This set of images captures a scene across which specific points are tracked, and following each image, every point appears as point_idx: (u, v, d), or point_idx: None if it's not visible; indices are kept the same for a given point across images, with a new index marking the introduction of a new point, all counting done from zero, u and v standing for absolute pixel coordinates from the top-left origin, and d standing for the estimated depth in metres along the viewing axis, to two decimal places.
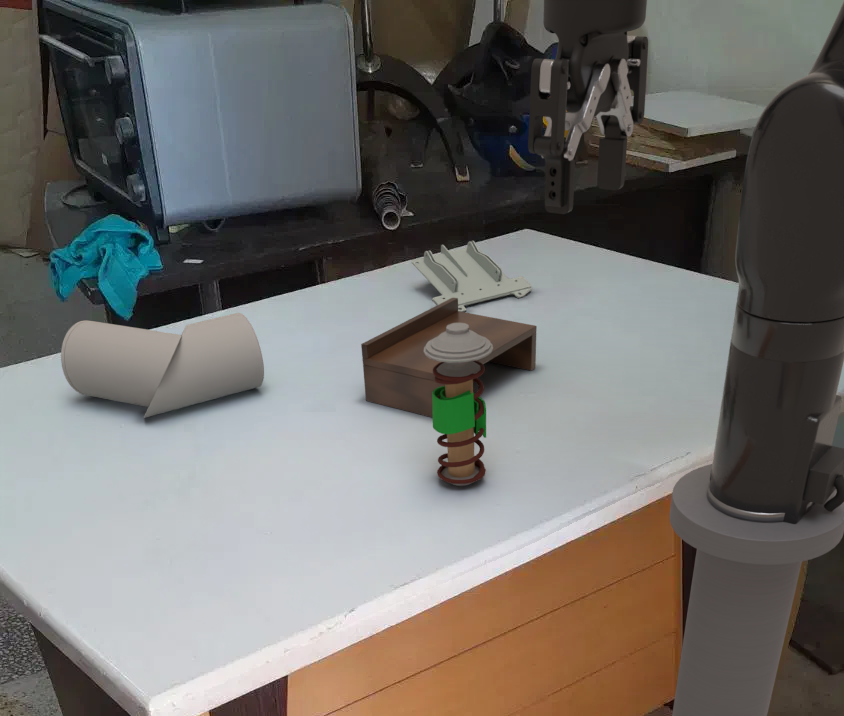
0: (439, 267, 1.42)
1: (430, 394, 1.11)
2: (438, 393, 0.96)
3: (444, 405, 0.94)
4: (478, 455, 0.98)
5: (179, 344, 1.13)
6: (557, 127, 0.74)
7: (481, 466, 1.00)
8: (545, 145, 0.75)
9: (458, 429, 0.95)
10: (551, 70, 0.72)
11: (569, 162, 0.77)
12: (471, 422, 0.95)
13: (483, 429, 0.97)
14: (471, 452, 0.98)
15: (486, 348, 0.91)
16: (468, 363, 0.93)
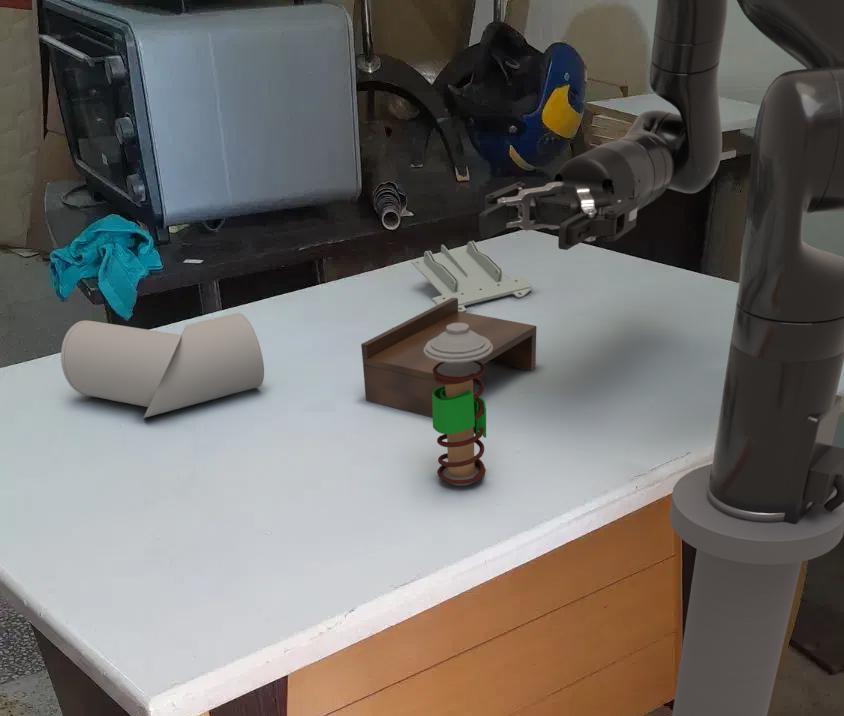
0: (439, 267, 1.42)
1: (430, 394, 1.11)
2: (438, 393, 0.96)
3: (444, 405, 0.94)
4: (478, 455, 0.98)
5: (179, 344, 1.13)
6: (494, 192, 1.00)
7: (481, 466, 1.00)
8: None
9: (458, 429, 0.95)
10: None
11: (500, 204, 0.98)
12: (471, 422, 0.95)
13: (483, 429, 0.97)
14: (471, 452, 0.98)
15: (486, 348, 0.91)
16: (468, 363, 0.93)
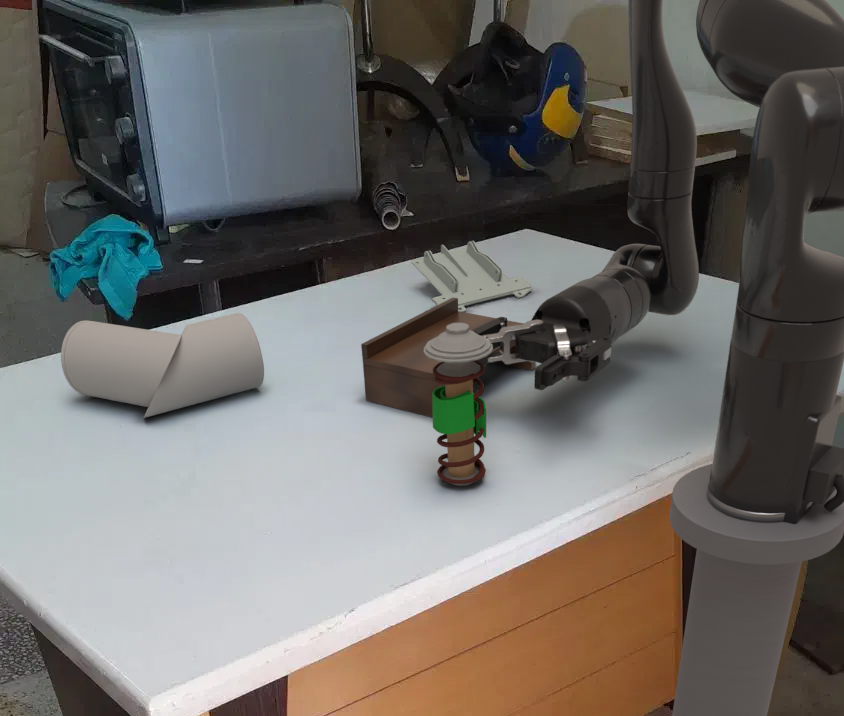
0: (439, 267, 1.42)
1: (430, 394, 1.11)
2: (438, 393, 0.96)
3: (444, 405, 0.94)
4: (478, 455, 0.98)
5: (179, 344, 1.13)
6: (478, 328, 1.06)
7: (481, 466, 1.00)
8: None
9: (458, 429, 0.95)
10: None
11: None
12: (471, 422, 0.95)
13: (483, 429, 0.97)
14: (471, 452, 0.98)
15: (486, 348, 0.91)
16: (468, 363, 0.93)
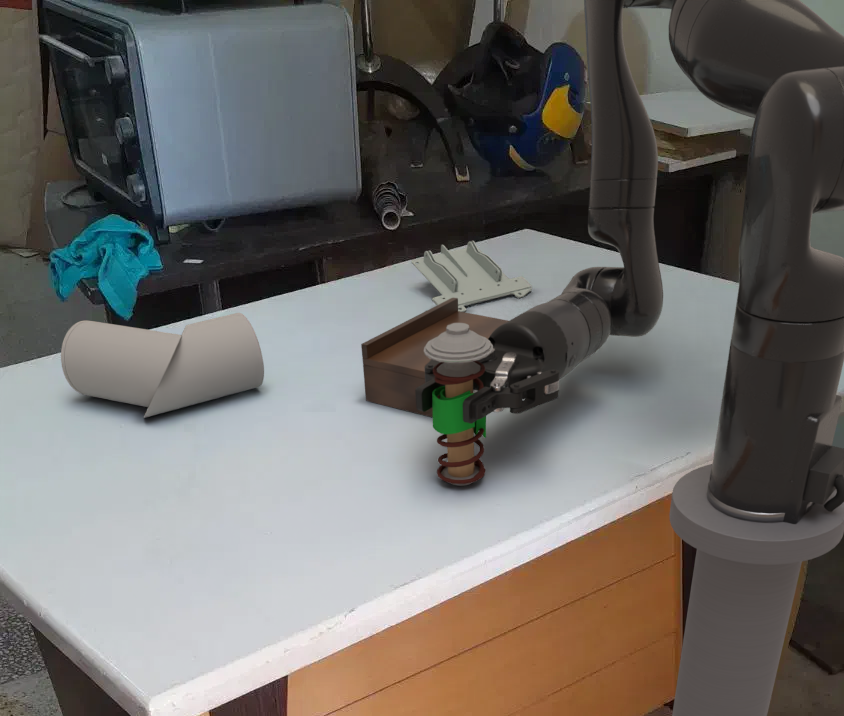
0: (439, 267, 1.42)
1: None
2: (438, 393, 0.96)
3: (444, 405, 0.94)
4: (478, 455, 0.98)
5: (179, 344, 1.13)
6: (430, 361, 0.99)
7: (481, 466, 1.00)
8: None
9: (458, 429, 0.95)
10: None
11: None
12: None
13: (483, 429, 0.97)
14: (471, 452, 0.98)
15: (486, 348, 0.91)
16: (468, 363, 0.93)
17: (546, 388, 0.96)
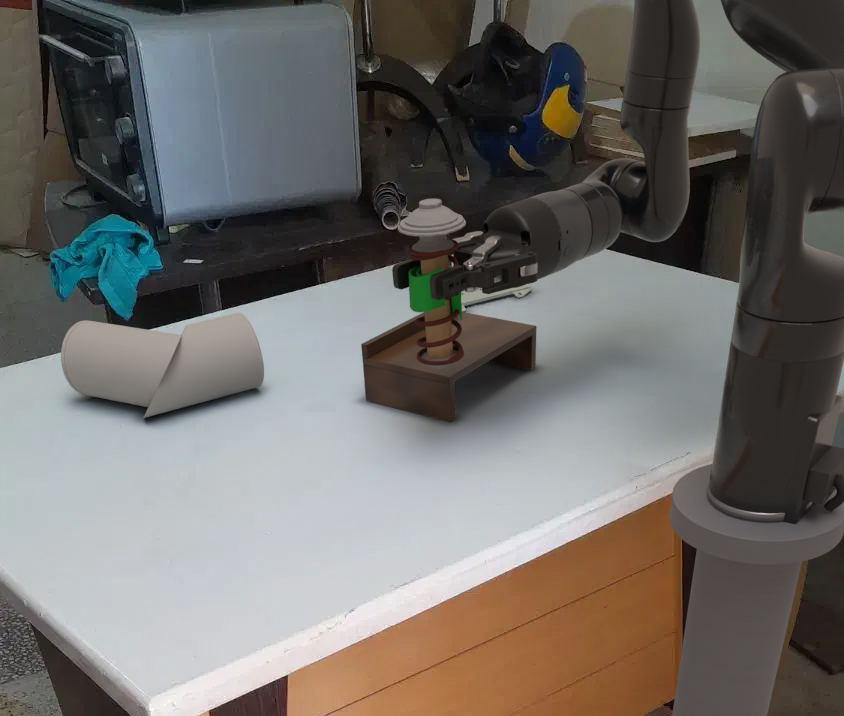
0: None
1: (430, 394, 1.11)
2: None
3: (416, 282, 0.96)
4: (452, 336, 0.99)
5: (179, 344, 1.13)
6: None
7: (459, 350, 1.01)
8: None
9: (430, 307, 0.97)
10: None
11: None
12: (442, 300, 0.96)
13: (458, 310, 0.99)
14: (447, 334, 1.00)
15: (455, 224, 0.92)
16: (440, 239, 0.94)
17: (521, 270, 0.96)
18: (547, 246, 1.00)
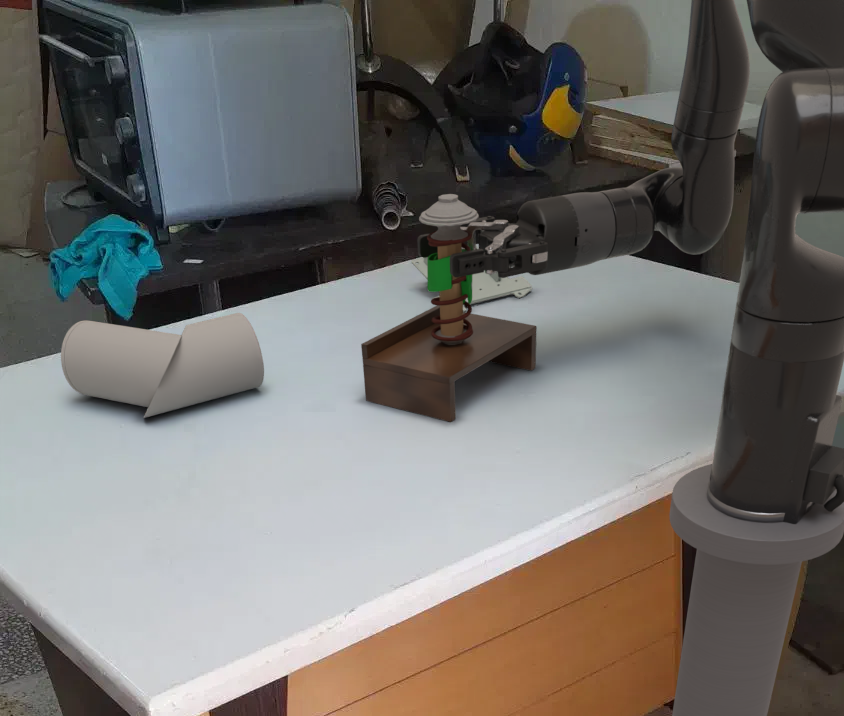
0: None
1: (430, 394, 1.11)
2: None
3: (429, 265, 1.10)
4: (458, 317, 1.13)
5: (179, 344, 1.13)
6: None
7: (467, 330, 1.15)
8: None
9: (439, 288, 1.11)
10: None
11: None
12: (448, 284, 1.10)
13: (466, 295, 1.12)
14: (456, 314, 1.13)
15: (463, 218, 1.06)
16: (452, 230, 1.08)
17: (533, 257, 1.07)
18: (562, 240, 1.11)
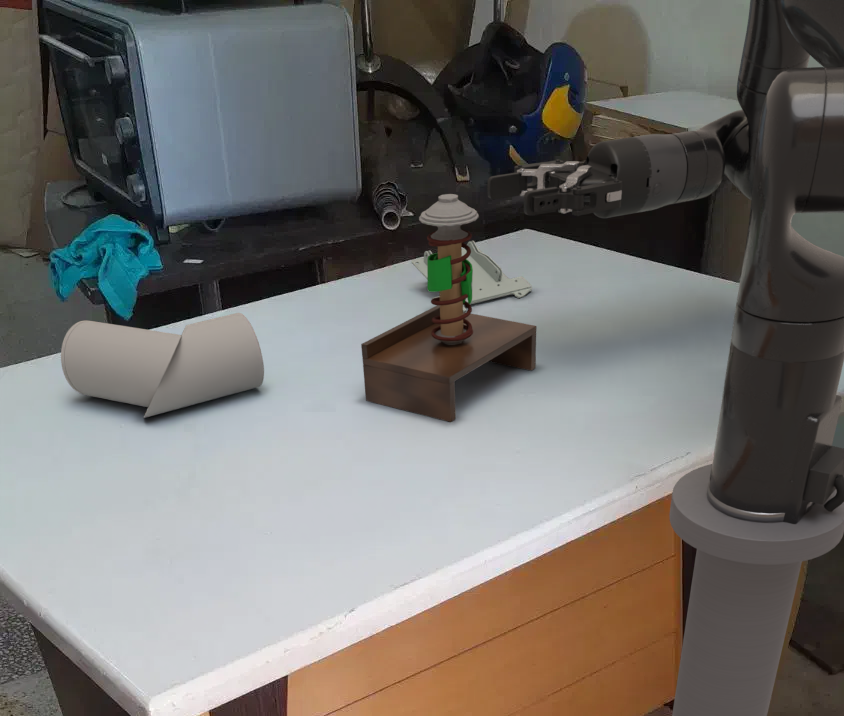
0: None
1: (430, 394, 1.11)
2: None
3: (429, 265, 1.10)
4: (458, 317, 1.13)
5: (179, 344, 1.13)
6: (528, 164, 1.15)
7: (467, 330, 1.15)
8: None
9: (439, 288, 1.11)
10: None
11: None
12: (448, 284, 1.10)
13: (466, 295, 1.12)
14: (456, 314, 1.13)
15: (463, 218, 1.06)
16: (452, 230, 1.08)
17: (608, 196, 1.07)
18: (634, 181, 1.10)
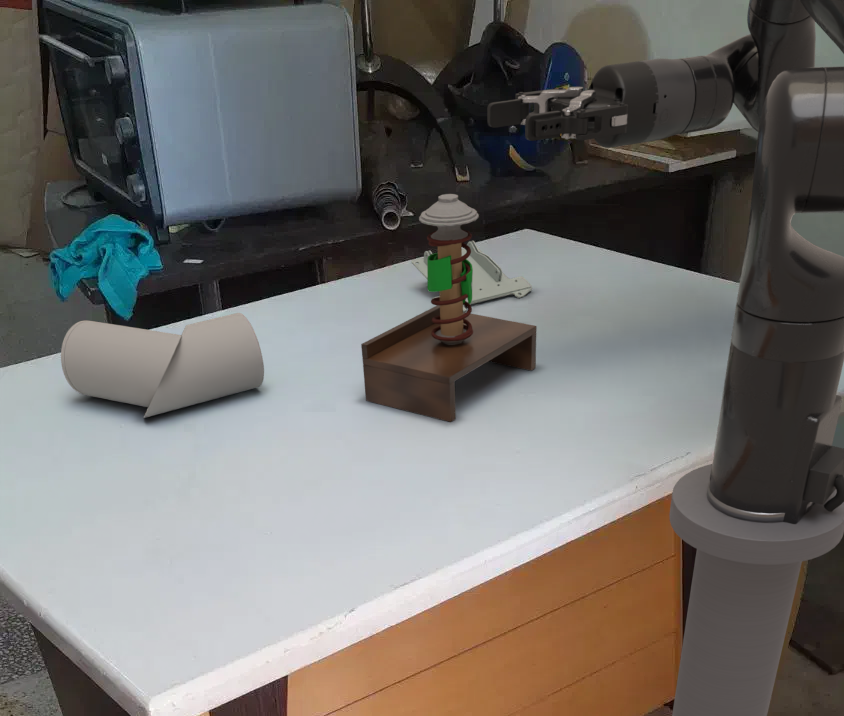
0: None
1: (430, 394, 1.11)
2: None
3: (429, 265, 1.10)
4: (458, 317, 1.13)
5: (179, 344, 1.13)
6: (529, 92, 1.10)
7: (467, 330, 1.15)
8: None
9: (439, 288, 1.11)
10: None
11: None
12: (448, 284, 1.10)
13: (466, 295, 1.12)
14: (456, 314, 1.13)
15: (463, 218, 1.06)
16: (452, 230, 1.08)
17: (613, 120, 1.02)
18: (640, 106, 1.06)
